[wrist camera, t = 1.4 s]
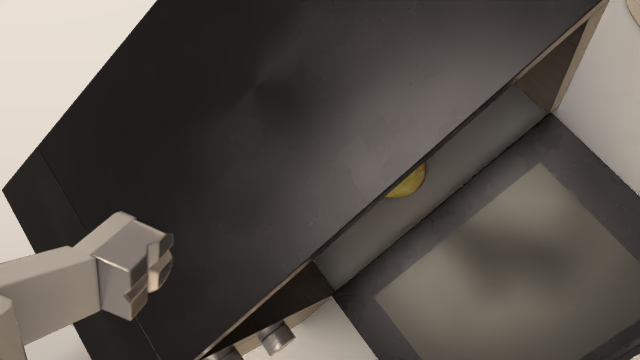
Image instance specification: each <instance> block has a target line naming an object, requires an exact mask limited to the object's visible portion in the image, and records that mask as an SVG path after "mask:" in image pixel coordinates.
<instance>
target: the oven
mask: <svg viewBox="0 0 640 360" xmlns="http://www.w3.org/2000/svg"><path fill="white" fill-rule="evenodd" d="M608 2H609V0H157V1H156V2H155V3H154V5H153V6H152V7H151V8H150V10H149V11H148V12H147V13H146V14H145V16H144V17H143V18H142V20H141V21H140V22H139V23H138V24H137V25H136V27H135V28H134V29H133V30H132V32H131V33H130V34H129V35H128V37H127V38H126V39H125V40H124V41H123V43H122V44H121V45H120V46H119V48H118V49H117V50H116V51H115V52H114V54H113V55H112V56H111V57H110V59H109V60H108V61H107V62H106V63H105V65H104V66H103V67H102V69H101V70H100V71H99V72H98V73H97V75H96V76H95V77H94V78H93V79H92V80H91V82H90V83H89V84H88V85H87V87H86V88H85V89H84V90H83V91H82V93H81V94H80V95H79V96H78V98H77V99H76V100H75V101H74V103H73V104H72V105H71V106H70V107H69V109H68V110H67V111H66V112H65V113H64V115H63V116H62V117H61V119H60V120H59V121H58V122H57V123H56V125H55V126H54V127H53V128H52V129H51V131H50V132H49V133H48V134H47V135H46V137H45V138H44V139H43V140H42V142H41V143H40V144H39V145H38V147H36V149H35V150H34V151H33V153H32V154H31V155H30V156H29V157H28V159H27V160H26V161H25V162H24V163H23V165H22V166H21V167H20V168H19V169H18V171H17V172H16V173H15V174H14V176H13V177H12V178H11V179H10V181H9V182H8V183H7V184H6V185H5V187H4V188H3V189H2V191H3V193H4V195H5V197H6V199H7V201H8V202H9V204H10V206H11V208H12V210H13V212H14V214H15V216H16V218H17V219H18V221H19V223H20V225H21V227H22V229H23V231H24V233H25V234H26V236H27V238H28V240H29V242H30V244H31V246H32V248H33V250H34V252H35V253H36V254H38V253H41V252H45V251H49V250H53V249H57V248H60V247H64V246H69V247H72V248H73V247H74V246H75V245H76V244H77V243H79V242H80V241H81V240H82V239H84V238H85V237H86V236H87V235H88V234H90V233H91V232H92V231H93V230H95V229H96V228H97V227H98V226H100V225H101V224H102V223H103V222H104V221H106V220H107V219H108V218H109V217H111V216H112V215H113V214H114V213H117V212H120V211H122V212H125V213H127V214H129V215H132V216H134V217H136V218H139V219H141V220H143V221H145V222H148V223H150V224H152V225H154V226H157V227H159V228H161V229H163V230H165V231H168V232H170V233H172V234H173V235H174V244H173V245H172V246H171V248H170V249H169V250H170V252H171V254H172V256H173V264H172V267H171V271H170V273H169V275H168V277H167V279H166V280H165V282H164V283H163V284H162V286H161V287H160V288H159V289H158V290H156V291H153V292H150V293H147V303H146V304H145V305H144V306H143V308H142V309H141V310H140V311H139V312H138V313H137V314H136V315H135V317H134V318H133V319H132V320H131V321H129V320H127V319H124V318H122V317H120V316H117V315H115V314H112V313H110V312H108V311H105V310H103V309H101V308H100V311H98V312H96V313H94V314H92V315H90V316H87V317H85V318H83V319H81V320H79V321H77V322H74V323H73V325H74V327H75V329H76V331H77V333H78V335H79V337H80V338H81V340H82V342H83V344H84V346H85V348H86V350H87V352H88V354H89V355H90V357H91V359H92V360H244V359H243V358H242V355H244V354H246V353H248V352H249V351H251V350H253V349H255V348H257V347H258V346H260V345H263V346H264V348H265V349H266V351H267V352H268V354H269V355H270V356H273V355H274V354H276V353H277V352H279V351H280V350H281V349H283V348H284V347H285V346H287V345H288V344H289V343H290V342H291V341H293V340H294V339H295V335H294V334H293V332H292V331H291V328H293V327H295V326H296V325H298V324H300V323H301V322H302V321H303V320H304V319H306V318H307V317H308V316H309V315H310V314H312V313H313V312H314V311H315V310H316V309H318V308H319V307H320V306H321V305H322V304H324V303H325V302H326V301H327V300H328V299H330V298H331V297H333V298H334V300H335V301H336V302H337V304H338V305H339V306H340V308H341V309H342V310H343V312H344V313H345V315H346V316H347V317H348V319H349V320H350V321H351V323H352V324H353V325H354V327H355V328H356V330H357V331H358V332H359V334H360V335H361V336H362V338H363V339H364V340H365V342H366V343H367V344H368V346H369V347H370V349H371V350H372V351H373V353H374V354H375V355H376V357H377V358H378V359H379V360H640V197H639V196H638V195H637V194H636V193H635V192H634V191H633V190H632V189H631V188H630V187H629V186H628V185H627V184H626V183H625V182H624V181H623V180H622V179H620V178H619V177H618V176H617V175H616V174H615V173H614V172H613V171H612V170H611V169H610V168H609V167H608V166H607V165H606V164H605V163H604V162H603V161H602V160H601V159H600V158H599V157H597V156H596V155H595V154H594V153H593V152H592V151H591V150H590V149H589V148H588V147H587V146H586V145H585V144H584V143H583V142H582V141H581V140H580V139H579V138H578V137H577V136H576V135H574V134H573V133H572V132H571V131H570V130H569V129H568V128H567V127H566V126H565V125H564V124H563V123H562V122H561V121H560V120H559V119H558V118H557V117H556V116H555V115H554V114H553V113H552V112H553V111H554V110H556V109H557V108H558V107H559V105H560V103H561V100H562V98H563V96H564V94H565V92H566V90H567V88H568V86H569V84H570V82H571V80H572V77H573V75H574V73H575V71H576V69H577V67H578V65H579V63H580V61H581V59H582V57H583V54H584V52H585V50H586V48H587V46H588V44H589V42H590V40H591V38H592V36H593V34H594V31H595V29H596V27H597V25H598V23H599V21H600V19H601V17H602V15H603V13H604V11H605V8H606V6H607V4H608ZM514 83H515V84H516V85H517V86H518V87H520V88H521V89H522V90H523V91H524V92H525V93H526V94H527V95H528V96H529V97H530V98H531V99H532V100H533V101H534V102H535V103H536V104H537V105H538V106H539V107H540V108H541V109H542V110H543V111H544V112H546V113H547V114H548V115H547V116H546V117H545V118H543V119H542V120H541V121H540V122H539V123H537V124H536V125H535V126H534V127H533V128H531V129H530V130H529V131H528V132H527V133H526V134H524V135H523V136H522V137H521V138H520V139H518V140H517V141H516V142H515V143H514V144H512V145H511V146H510V147H509V148H508V149H506V150H505V151H504V152H503V153H502V154H500V155H499V156H498V157H497V158H496V159H494V160H493V161H492V162H491V163H490V164H488V165H487V166H486V167H485V168H484V169H482V170H481V171H480V172H479V173H478V174H477V175H475V176H474V177H473V178H472V179H471V180H469V181H468V182H467V183H466V184H465V185H463V186H462V187H461V188H460V189H459V190H457V191H456V192H455V193H454V194H453V195H451V196H450V197H449V198H448V199H447V200H445V201H444V202H443V203H442V204H441V205H439V206H438V207H437V208H436V209H435V210H433V211H432V212H431V213H430V214H429V215H428V216H426V217H425V218H424V219H423V220H422V221H420V222H419V223H418V224H417V225H416V226H414V227H413V228H412V229H411V230H410V231H408V232H407V233H406V234H405V235H404V236H402V237H401V238H400V239H399V240H398V241H396V242H395V243H394V244H393V245H392V246H390V247H389V248H388V249H387V250H386V251H384V252H383V253H382V254H381V255H380V256H379V257H377V258H376V259H375V260H374V261H373V262H371V263H370V264H369V265H368V266H367V267H365V268H364V269H363V270H362V271H361V272H359V273H358V274H357V275H356V276H355V277H353V278H352V279H351V280H350V281H349V282H347V283H346V284H345V285H344V286H343V287H341V288H340V289H339V290H338V291H337V292H335V291H334V290H333V288H332V287H331V286H330V284H329V283H328V282H327V280H326V279H325V277H324V276H323V275H322V273H321V272H320V271H319V269H318V268H317V267H316V265H315V264H314V263H313V261H312V260H313V259H314V258H315V257H317V256H318V255H319V254H320V253H321V252H322V251H323V250H325V249H326V248H327V247H328V246H329V245H330V244H331V243H333V242H334V241H335V240H336V239H337V238H338V237H339V236H341V235H342V234H343V233H344V232H345V231H346V230H347V229H349V228H350V227H351V226H352V225H353V224H354V223H355V222H357V221H358V220H359V219H360V218H361V217H362V216H363V215H365V214H366V213H367V212H368V211H369V210H370V209H371V208H373V207H374V206H375V205H376V204H377V203H378V202H379V201H380V200H382V199H383V198H384V197H385V196H386V195H387V194H388V193H390V192H391V191H392V190H393V189H394V188H395V187H396V186H398V185H399V184H400V183H401V182H402V181H403V180H404V179H406V178H407V177H408V176H409V175H410V174H411V173H412V172H414V171H415V170H416V169H417V168H418V167H419V166H420V165H422V164H423V163H424V162H425V161H426V160H427V159H428V158H430V157H431V156H432V155H433V154H434V153H435V152H436V151H438V150H439V149H440V148H441V147H442V146H443V145H444V144H446V143H447V142H448V141H449V140H450V139H451V138H452V137H454V136H455V135H456V134H457V133H458V132H459V131H460V130H461V129H463V128H464V127H465V126H466V125H467V124H468V123H469V122H471V121H472V120H473V119H474V118H475V117H476V116H477V115H479V114H480V113H481V112H482V111H483V110H484V109H485V108H487V107H488V106H489V105H490V104H491V103H492V102H493V101H495V100H496V99H497V98H498V97H499V96H500V95H501V94H503V93H504V92H505V91H506V90H507V89H508V88H509V87H511V86H512V85H513V84H514Z"/></svg>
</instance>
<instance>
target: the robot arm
mask: <svg viewBox="0 0 640 360" xmlns="http://www.w3.org/2000/svg"><path fill="white" fill-rule="evenodd" d="M626 2H627V5H628V8H629V10H630V12H631V14H632V16H633V17H634V19H635V20H636V22H637V23H638V24H639V25H640V0H626ZM173 244H174V235H173V234H172V233H170V232H168V231H165V230H163V229H161V228H159V227H157V226H154V225H152V224H150V223H148V222H145V221H143V220H141V219H139V218H136V217H134V216H132V215H129V214H127V213H125V212H122V211H120V212H117V213H114V214H113V215H112V216H111V217H109V218H108V219H107V220H106V221H104V222H103V223H102V224H101V225H100V226H98V227H97V228H96V229H95V230H93V231H92V232H91V233H90V234H88V235H87V236H86V237H85V238H84V239H82V240H81V241H80V242H79V243H77V244H76V245H75V246H74V247H73V248H72V247H69V246H64V247H60V248H57V249H53V250H49V251H45V252H41V253H38V254H34V255H30V256H26V257H23V258H19V259H15V260H12V261H8V262H4V263H0V360H27V357H26V353H25V349H24V345H26V344H28V343H31V342H33V341H35V340H37V339H40V338H42V337H44V336H46V335H48V334H51V333H53V332H55V331H57V330H59V329H61V328H64V327H66V326H68V325H70V324H72V323H74V322H77V321H79V320H81V319H83V318H85V317H87V316H90V315H92V314H94V313H96V312H98V311H100V308H101V309H103V310H105V311H108V312H110V313H112V314H115V315H117V316H120V317H122V318H124V319H127V320H129V321H131V320H132V319H133V318H134V317H135V315H136V314H137V313H138V312H139V311H140V310H141V309H142V308H143V306H144V305H145V304H146V303H147V293H150V292H153V291H156V290H158V289H159V288H160V287H161V286H162V284H163V283H164V282H165V280H166V279H167V277H168V275H169V273H170V271H171V267H172V264H173V256H172V254H171V252H170V250H169V249H170V248H171V246H172V245H173Z"/></svg>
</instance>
